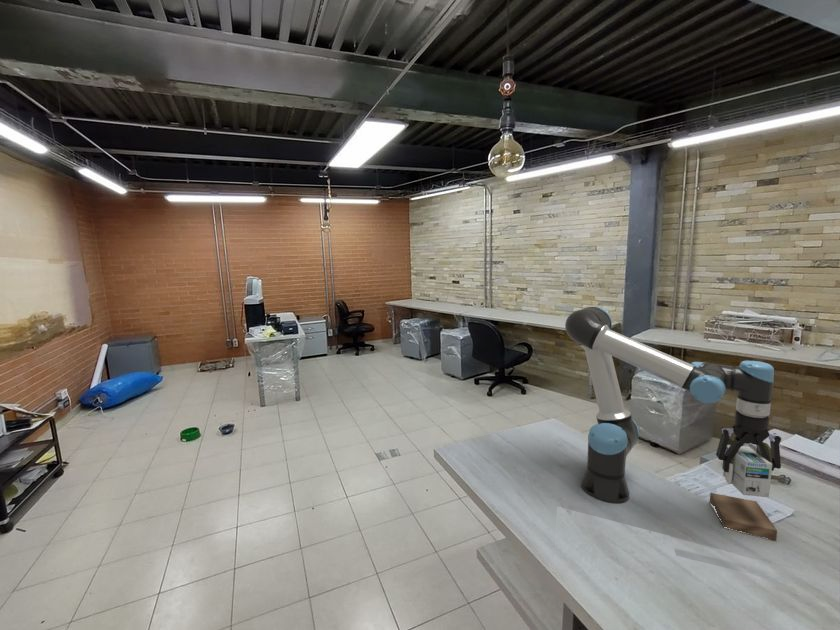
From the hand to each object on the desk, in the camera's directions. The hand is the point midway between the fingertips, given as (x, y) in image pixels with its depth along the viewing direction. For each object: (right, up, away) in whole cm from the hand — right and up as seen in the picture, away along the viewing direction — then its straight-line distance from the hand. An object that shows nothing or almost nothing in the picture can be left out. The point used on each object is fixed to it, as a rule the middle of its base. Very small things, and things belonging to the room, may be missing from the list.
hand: (744, 484), depth 113 cm
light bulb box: (0, -1, 0) cm, 1 cm away
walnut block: (0, -14, +2) cm, 14 cm away
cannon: (+31, -8, +37) cm, 49 cm away
